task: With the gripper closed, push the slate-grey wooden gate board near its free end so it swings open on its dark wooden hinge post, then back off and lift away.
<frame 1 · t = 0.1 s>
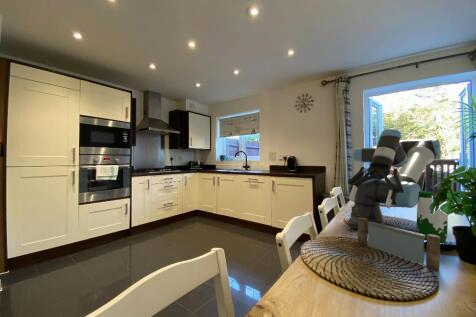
hand: (367, 203, 85), 15 cm above the table, tool tilted 35°, fingers open, 13 cm apart
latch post: (432, 268, 65), on the table
gate: (393, 240, 73), point 5 cm above the table, hinge at 0.0°
salt shaker: (354, 230, 98), on the table
milk carton: (431, 242, 85), on the table
hinge post: (362, 244, 82), on the table
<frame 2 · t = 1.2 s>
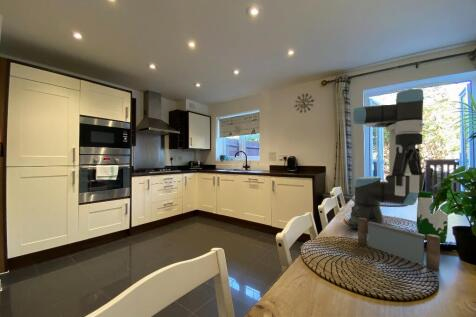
hand: (407, 194, 76), 21 cm above the table, tool pointing down, fingers open, 12 cm apart
nothing on the table moved.
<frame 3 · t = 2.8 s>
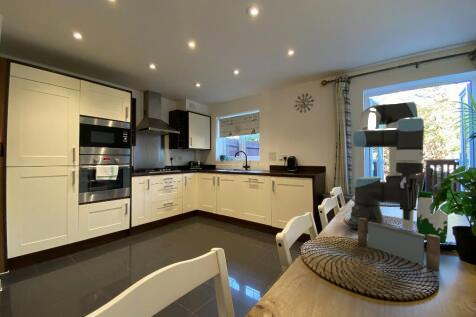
hand: (407, 228, 76), 9 cm above the table, tool pointing down, fingers closed
nothing on the table moved.
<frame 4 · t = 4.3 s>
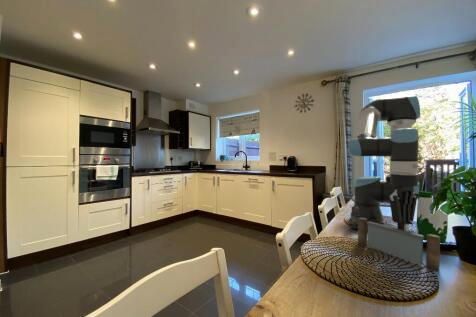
hand: (402, 242, 73), 5 cm above the table, tool pointing down, fingers closed
gate: (392, 241, 73), point 5 cm above the table, hinge at 3.8°, touching gripper
everything else where it was.
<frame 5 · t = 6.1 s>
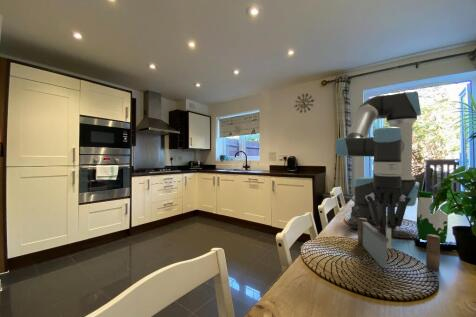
hand: (386, 246, 70), 4 cm above the table, tool pointing down, fingers closed
gate: (373, 242, 72), point 5 cm above the table, hinge at 46.5°, touching gripper
everything else where it was.
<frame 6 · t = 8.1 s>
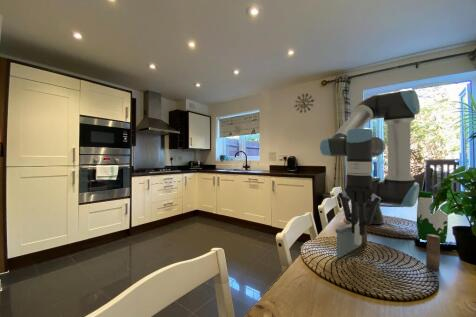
hand: (358, 243, 72), 4 cm above the table, tool pointing down, fingers closed
gate: (349, 237, 76), point 5 cm above the table, hinge at 86.7°, touching gripper
everything else where it was.
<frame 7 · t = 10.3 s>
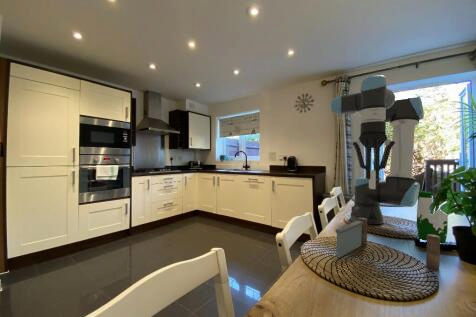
hand: (372, 188, 76), 23 cm above the table, tool pointing down, fingers closed
gate: (349, 237, 76), point 5 cm above the table, hinge at 86.9°
everything else where it was.
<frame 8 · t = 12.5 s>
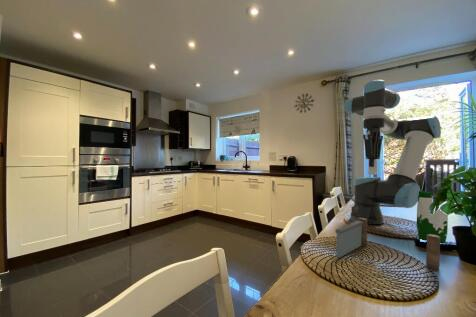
hand: (372, 174, 90), 26 cm above the table, tool pointing down, fingers closed
nothing on the table moved.
at the end: gate at +87° (first picture: +0°); milk carton moved 0.2 cm from its start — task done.
